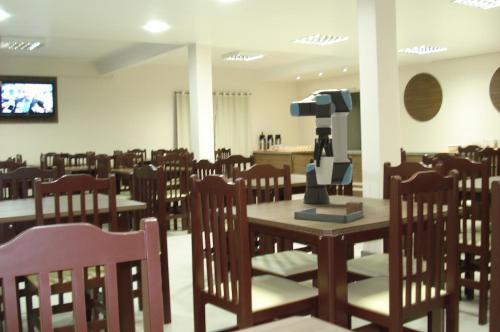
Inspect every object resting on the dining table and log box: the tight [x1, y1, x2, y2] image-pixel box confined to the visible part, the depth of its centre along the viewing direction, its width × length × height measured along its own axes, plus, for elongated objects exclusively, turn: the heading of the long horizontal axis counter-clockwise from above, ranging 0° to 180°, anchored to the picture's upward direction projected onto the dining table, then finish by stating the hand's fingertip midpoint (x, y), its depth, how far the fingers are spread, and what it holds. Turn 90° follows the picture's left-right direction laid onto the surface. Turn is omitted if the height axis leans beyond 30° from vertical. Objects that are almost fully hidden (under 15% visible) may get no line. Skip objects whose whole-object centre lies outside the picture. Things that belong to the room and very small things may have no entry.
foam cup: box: [313, 156, 334, 185], centre depth 260 cm, size 10×9×13 cm
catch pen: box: [293, 206, 364, 224], centre depth 255 cm, size 19×26×3 cm
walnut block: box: [345, 201, 364, 215], centre depth 264 cm, size 6×6×6 cm
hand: (323, 173), depth 260 cm, fingers closed on foam cup, 9 cm apart
